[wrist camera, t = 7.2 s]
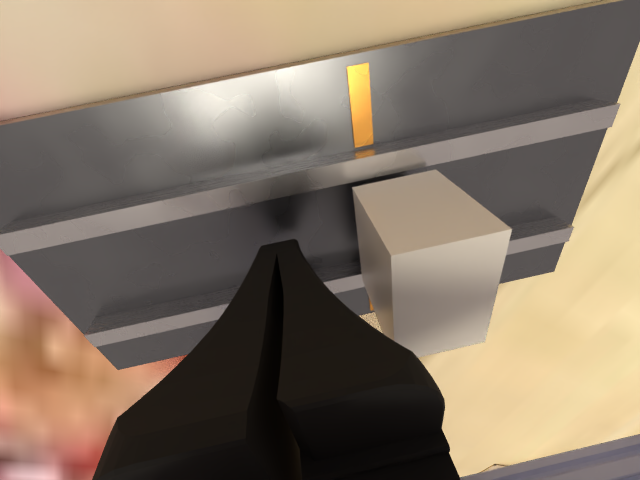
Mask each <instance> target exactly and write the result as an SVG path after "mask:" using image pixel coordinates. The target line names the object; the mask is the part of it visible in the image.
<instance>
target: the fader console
mask: <svg viewBox="0 0 640 480" xmlns="http://www.w3.org/2000/svg"><path fill="white" fill-rule="evenodd" d="M639 42H640V0H602V1H597V2H592V3H587V4H582V5H577V6H572V7H567V8H562V9H557V10H552V11H547V12H542V13H537V14H532V15H527V16H522V17H517V18H512V19H507V20H502V21H497V22H492V23H487V24H482V25H477V26H472V27H467V28H462V29H457V30H452V31H447V32H442V33H437V34H432V35H427V36H422V37H418V38H413V39H408V40H403V41H398V42H393V43H388V44H383V45H378V46H373V47H368V48H363V49H358V50H353V51H348V52H343V53H338V54H333V55H328V56H323V57H318V58H313V59H308V60H303V61H298V62H293V63H288V64H283V65H278V66H273V67H268V68H263V69H258V70H253V71H248V72H243V73H238V74H233V75H228V76H223V77H219V78H214V79H209V80H204V81H199V82H194V83H189V84H184V85H179V86H174V87H169V88H164V89H159V90H154V91H149V92H144V93H139V94H134V95H129V96H124V97H119V98H114V99H109V100H104V101H99V102H94V103H89V104H84V105H79V106H74V107H69V108H64V109H59V110H54V111H49V112H44V113H39V114H34V115H29V116H24V117H19V118H15V119H10V120H5V121H0V249H1V250H2V251H3V252H4V253H5V254H6V255H7V256H10V257H11V259H12V260H13V261H14V262H15V263H16V264H17V265H18V266H19V267H20V268H21V269H22V270H23V271H24V272H25V273H26V274H27V275H28V276H29V277H30V278H31V279H32V281H33V282H34V283H35V284H36V285H37V286H38V287H39V288H40V289H41V290H42V291H43V292H44V293H45V294H46V295H47V296H48V297H49V298H50V299H51V300H52V301H53V303H54V304H55V305H56V306H57V307H58V308H59V309H60V310H61V311H62V312H63V313H64V314H65V315H66V316H67V317H68V318H69V319H70V320H71V321H72V322H73V323H74V325H75V326H76V327H77V328H78V329H79V330H80V331H81V332H82V333H83V334H84V336H85V337H86V338H87V340H88V341H89V342H90V343H91V344H92V345H93V346H94V347H96V348H97V349H98V350H99V351H100V352H101V353H102V354H103V355H104V356H105V357H106V358H107V359H108V360H109V361H110V362H111V363H112V364H113V365H114V366H115V367H116V369H117V370H120V369H125V368H129V367H133V366H138V365H142V364H147V363H151V362H156V361H160V360H164V359H169V358H173V357H178V356H182V355H187V354H189V353H190V352H191V351H192V350H193V349H194V348H195V346H196V345H197V344H198V343H199V342H200V341H201V340H202V339H203V337H204V336H205V335H206V334H207V333H208V332H209V331H210V329H211V328H212V327H213V326H214V324H215V323H216V322H217V320H218V319H219V318H220V316H221V315H222V314H223V312H224V311H225V309H226V308H227V307H228V305H229V303H230V302H231V300H232V299H233V297H234V296H235V294H236V292H237V291H238V289H239V287H240V286H241V284H242V282H243V280H244V278H245V277H246V275H247V273H248V271H249V269H250V267H251V265H252V263H253V261H254V259H255V257H256V255H257V252H258V250H259V248H260V247H261V246H262V245H267V244H272V243H276V242H281V241H286V240H290V239H296V240H297V241H298V243H299V247H300V249H301V251H302V253H303V255H304V257H305V259H306V260H307V262H308V263H309V265H310V266H311V267H312V269H313V270H314V272H315V273H316V274H317V276H318V277H319V278H320V279H321V280H322V282H323V283H324V284H325V285H326V286H327V287H328V288H329V290H330V291H331V292H332V293H333V294H334V295H335V296H336V297H337V298H338V299H339V300H340V301H341V302H343V303H344V304H345V305H346V306H347V307H348V308H349V309H350V310H352V311H353V312H354V313H355V314H357V315H358V316H359V315H363V314H368V313H372V312H375V311H374V309H373V306H372V304H371V301H370V298H369V296H368V293H367V291H366V288H365V286H364V283H363V281H362V272H361V263H360V254H359V245H358V236H357V226H356V217H355V208H354V199H353V190H352V187H356V186H361V185H365V184H370V183H375V182H380V181H384V180H389V179H394V178H398V177H403V176H408V175H412V174H417V173H422V172H426V171H431V170H437V171H439V172H440V173H441V174H442V175H444V176H445V177H446V178H448V179H449V180H450V181H451V182H453V183H454V184H455V185H456V186H458V187H459V188H460V189H462V190H463V191H464V192H465V193H467V194H468V195H469V196H471V197H472V198H473V199H474V200H476V201H477V202H478V203H479V204H481V205H482V206H483V207H485V208H486V209H487V210H488V211H490V212H491V213H492V214H493V215H495V216H496V217H497V218H499V219H500V220H501V221H502V222H504V223H505V224H506V225H508V226H509V227H510V228H511V229H512V232H511V236H510V240H509V244H508V248H507V253H506V257H505V261H504V265H503V269H502V273H501V277H500V282H499V284H501V283H505V282H509V281H514V280H518V279H523V278H527V277H531V276H536V275H540V274H545V273H549V272H554V270H555V268H556V265H557V262H558V260H559V257H560V254H561V252H562V249H563V246H564V243H565V242H567V241H569V238H570V236H571V233H572V230H573V228H574V227H573V226H572V222H573V219H574V217H575V214H576V211H577V208H578V206H579V203H580V200H581V198H582V195H583V192H584V190H585V187H586V184H587V182H588V179H589V176H590V174H591V171H592V168H593V165H594V163H595V160H596V157H597V155H598V152H599V149H600V147H601V144H602V141H603V139H604V136H605V133H606V130H607V128H609V127H612V125H613V122H614V119H615V117H616V114H617V111H618V109H619V106H620V103H617V101H618V98H619V95H620V93H621V90H622V87H623V85H624V82H625V79H626V77H627V74H628V71H629V69H630V66H631V63H632V60H633V58H634V55H635V52H636V50H637V47H638V44H639Z"/></svg>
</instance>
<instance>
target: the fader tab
mask: <svg viewBox="0 0 640 480" xmlns="http://www.w3.org/2000/svg"><path fill="white" fill-rule="evenodd" d="M352 190H353V199H354V208H355V217H356V226H357V236H358V245H359V254H360V263H361V272H362V281H363V283H364V286H365V288H366V291H367V293H368V296H369V298H370V301H371V304H372V306H373V309H374V311H375V314H376V316H377V319H378V321H379V324H380V326H381V329H382V332H383V334H384V335H386V336H387V337H389V338H390V339H392V340H394V341H395V342H397V343H398V344H400V345H402V346H404V347H405V348H407V349H409V350H411V351H412V352H413V353H414V354H415V355H416V356H417V358H418V357H422V356H427V355H431V354H435V353H440V352H444V351H448V350H453V349H457V348H461V347H465V346H470V345H474V344H478V343H483V342H485V340H486V335H487V331H488V327H489V323H490V319H491V315H492V311H493V306H494V302H495V298H496V294H497V290H498V286H499V282H500V277H501V273H502V269H503V265H504V261H505V257H506V253H507V248H508V244H509V240H510V236H511V232H512V229H511V228H510V227H509V226H508V225H506V224H505V223H504V222H502V221H501V220H500V219H499V218H497V217H496V216H495V215H493V214H492V213H491V212H490V211H488V210H487V209H486V208H485V207H483V206H482V205H481V204H479V203H478V202H477V201H476V200H474V199H473V198H472V197H471V196H469V195H468V194H467V193H465V192H464V191H463V190H462V189H460V188H459V187H458V186H456V185H455V184H454V183H453V182H451V181H450V180H449V179H448V178H446V177H445V176H444V175H442V174H441V173H440V172H439V171H437V170H431V171H426V172H422V173H417V174H412V175H408V176H403V177H398V178H394V179H389V180H384V181H380V182H375V183H370V184H365V185H361V186H356V187H352Z"/></svg>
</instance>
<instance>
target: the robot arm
mask: <svg viewBox="0 0 640 480" xmlns="http://www.w3.org/2000/svg"><path fill="white" fill-rule="evenodd" d="M444 410H445V402H444V398H443V396H442V394H441V391H440V390H439V388H438V386H437V384H436V383H435V381H434V380H433V378H432V377H431V375H430V374H429V372H428V371H427V369H426V368H425V367H424V365H423V364H422V363H421V361H420V360H419V359H418V358H417V356H416V355H415V354H414V353H413V352H412V351H411V350H409V349H407V348H405V347H404V346H402V345H400V344H398V343H397V342H395V341H394V340H392V339H390V338H389V337H387V336H386V335H384V334H383V333H381V332H380V331H378V330H377V329H375V328H374V327H372V326H371V325H370V324H368V323H367V322H366V321H364V320H363V319H362V318H361V317H359V316H358V315H357V314H355V313H354V312H353V311H352V310H350V309H349V308H348V307H347V306H346V305H345V304H344V303H343V302H341V301H340V300H339V299H338V298H337V297H336V296H335V295H334V294H333V293H332V292H331V291H330V290H329V288H328V287H327V286H326V285H325V284H324V283H323V282H322V280H321V279H320V278H319V277H318V276H317V274H316V273H315V272H314V270H313V269H312V267H311V266H310V265H309V263H308V262H307V260H306V259H305V257H304V255H303V253H302V251H301V249H300V247H299V243H298V241H297V240H296V239H290V240H286V241H281V242H276V243H272V244H267V245H262V246H261V247H260V248H259V250H258V252H257V255H256V257H255V259H254V261H253V263H252V265H251V267H250V269H249V271H248V273H247V275H246V277H245V278H244V280H243V282H242V284H241V286H240V287H239V289H238V291H237V292H236V294H235V296H234V297H233V299H232V300H231V302H230V303H229V305H228V307H227V308H226V309H225V311H224V312H223V314H222V315H221V316H220V318H219V319H218V320H217V322H216V323H215V324H214V326H213V327H212V328H211V329H210V331H209V332H208V333H207V334H206V335H205V336H204V337H203V339H202V340H201V341H200V342H199V343H198V344H197V345H196V346H195V348H194V349H193V350H192V351H191V352H190V353H189V354H188V355H187V356H186V357H185V358H184V359H183V360H182V361H181V362H180V363H179V364H178V365H177V366H176V367H175V368H174V369H173V370H172V371H171V372H170V373H169V374H168V375H167V376H166V377H165V378H164V379H163V380H161V381H160V382H159V383H158V384H157V385H156V386H155V387H154V388H152V389H151V390H150V391H149V392H148V393H147V394H145V395H144V396H143V397H142V398H141V399H140V400H138V401H137V402H136V403H135V404H134V405H132V406H131V407H130V408H129V409H128V410H127V411H125V412H124V413H123V414H122V415H120V416H119V417H118V418H117V420H116V422H115V424H114V426H113V429H112V431H111V433H110V435H109V438H108V440H107V443H106V445H105V448H104V450H103V453H102V456H101V458H100V461H99V463H98V466H97V469H96V471H95V474H94V476H93V479H92V480H640V434H638V435H634V436H630V437H626V438H621V439H617V440H613V441H609V442H605V443H601V444H597V445H593V446H588V447H584V448H580V449H576V450H572V451H568V452H564V453H559V454H555V455H551V456H547V457H543V458H539V459H535V460H531V461H526V462H522V463H518V464H514V465H510V466H506V467H502V468H497V469H493V470H489V471H485V472H481V473H477V474H473V475H469V476H464V477H459V475H458V473H457V470H456V468H455V466H454V464H453V461H452V459H451V457H450V454H449V452H450V447H449V444H448V442H447V440H446V437H445V435H444V433H443V431H442V423H443V416H444Z"/></svg>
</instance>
